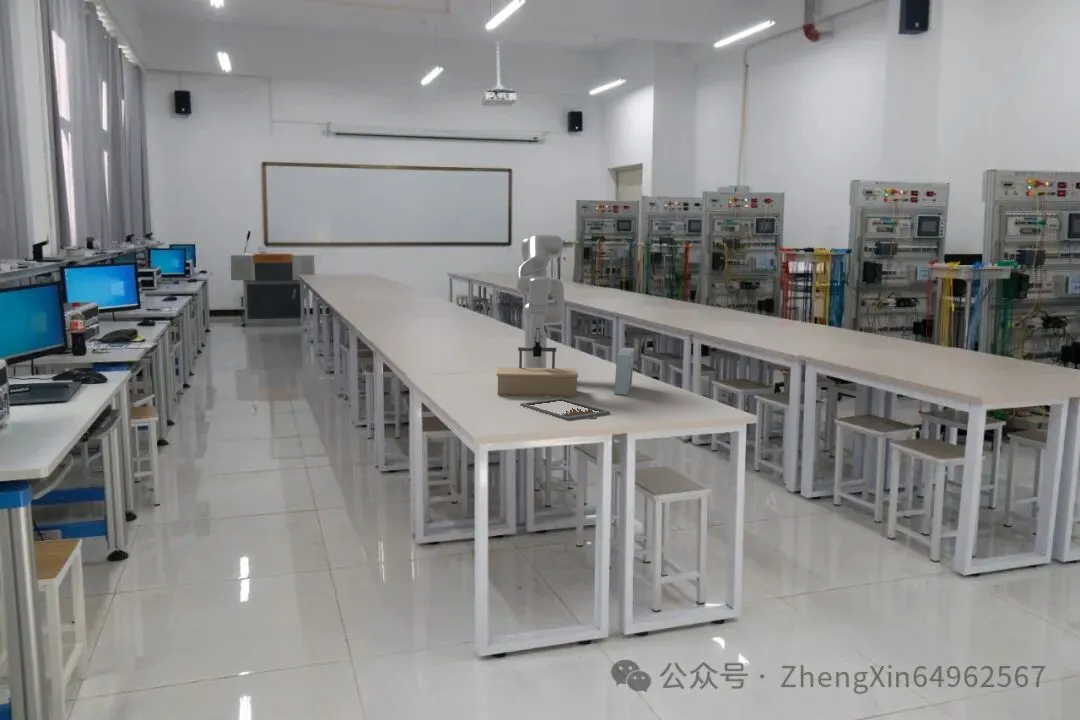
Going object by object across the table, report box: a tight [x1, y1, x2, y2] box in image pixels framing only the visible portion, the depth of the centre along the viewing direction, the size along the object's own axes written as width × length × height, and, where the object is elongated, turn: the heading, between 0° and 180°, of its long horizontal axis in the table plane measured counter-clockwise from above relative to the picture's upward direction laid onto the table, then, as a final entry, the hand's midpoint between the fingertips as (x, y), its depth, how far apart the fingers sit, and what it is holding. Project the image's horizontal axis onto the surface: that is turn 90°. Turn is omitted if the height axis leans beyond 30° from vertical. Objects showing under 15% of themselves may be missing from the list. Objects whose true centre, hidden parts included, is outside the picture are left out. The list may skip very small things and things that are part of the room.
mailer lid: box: [496, 346, 579, 378], centre depth 331 cm, size 15×31×9 cm, turn 91°
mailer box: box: [497, 376, 578, 398], centre depth 332 cm, size 14×30×8 cm, turn 91°
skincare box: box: [613, 347, 635, 396], centre depth 341 cm, size 21×6×16 cm, turn 168°
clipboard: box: [520, 397, 611, 422], centre depth 302 cm, size 19×2×30 cm
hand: (537, 355), depth 338 cm, fingers closed on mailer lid
